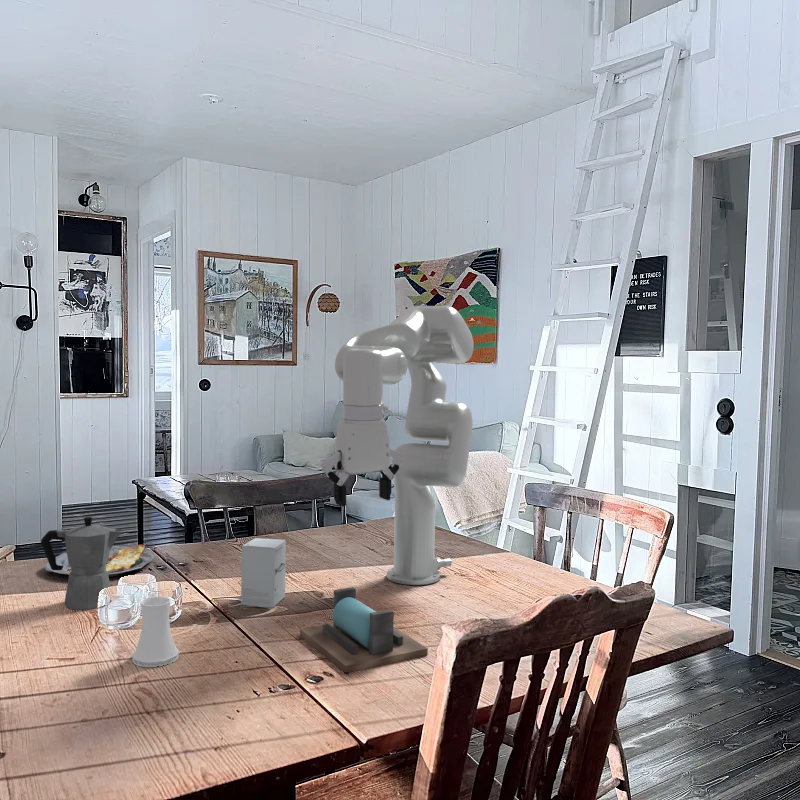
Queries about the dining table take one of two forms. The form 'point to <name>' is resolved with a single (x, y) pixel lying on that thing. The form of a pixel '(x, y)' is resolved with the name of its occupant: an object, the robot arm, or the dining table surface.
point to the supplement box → (263, 572)
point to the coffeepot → (83, 561)
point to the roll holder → (352, 654)
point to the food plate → (114, 560)
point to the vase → (155, 635)
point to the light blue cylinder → (353, 619)
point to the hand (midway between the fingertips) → (363, 501)
